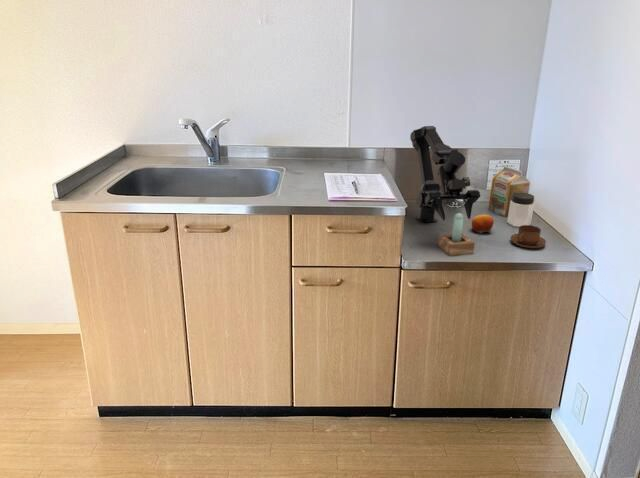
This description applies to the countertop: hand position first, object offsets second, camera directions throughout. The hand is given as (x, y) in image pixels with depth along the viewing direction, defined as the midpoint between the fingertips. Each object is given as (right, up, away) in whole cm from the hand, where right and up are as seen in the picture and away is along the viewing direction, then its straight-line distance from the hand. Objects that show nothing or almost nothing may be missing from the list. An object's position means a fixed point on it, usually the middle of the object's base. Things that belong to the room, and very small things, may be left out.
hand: (456, 219), depth 173 cm
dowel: (0, -11, +3) cm, 11 cm away
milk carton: (+32, +5, +40) cm, 52 cm away
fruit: (+15, -4, +19) cm, 25 cm away
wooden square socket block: (0, -11, +3) cm, 11 cm away
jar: (+32, -1, +27) cm, 42 cm away
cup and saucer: (+28, -9, +8) cm, 30 cm away
